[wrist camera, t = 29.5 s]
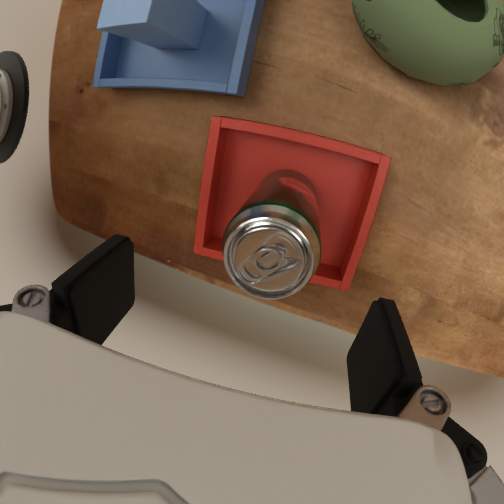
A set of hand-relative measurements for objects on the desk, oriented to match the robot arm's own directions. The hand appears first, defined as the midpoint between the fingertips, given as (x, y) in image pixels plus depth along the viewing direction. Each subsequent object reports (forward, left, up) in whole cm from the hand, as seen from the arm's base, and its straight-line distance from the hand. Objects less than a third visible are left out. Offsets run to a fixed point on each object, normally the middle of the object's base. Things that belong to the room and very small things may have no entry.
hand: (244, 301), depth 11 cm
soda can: (0, 0, -16) cm, 16 cm away
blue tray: (-12, +13, -16) cm, 24 cm away
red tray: (0, 0, -16) cm, 16 cm away
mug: (+8, +20, -16) cm, 27 cm away
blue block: (-11, +13, -16) cm, 24 cm away
